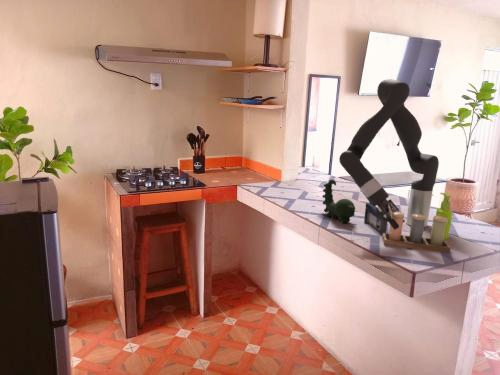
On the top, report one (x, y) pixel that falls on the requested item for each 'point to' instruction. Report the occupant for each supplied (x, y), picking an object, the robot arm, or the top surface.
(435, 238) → the olive jar
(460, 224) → the top surface
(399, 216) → the terracotta jar
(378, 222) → the vhs cassette tape
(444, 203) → the soap dispenser
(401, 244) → the walnut spice rack
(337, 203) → the toy figurine
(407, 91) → the robot arm
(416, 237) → the slate blue jar
